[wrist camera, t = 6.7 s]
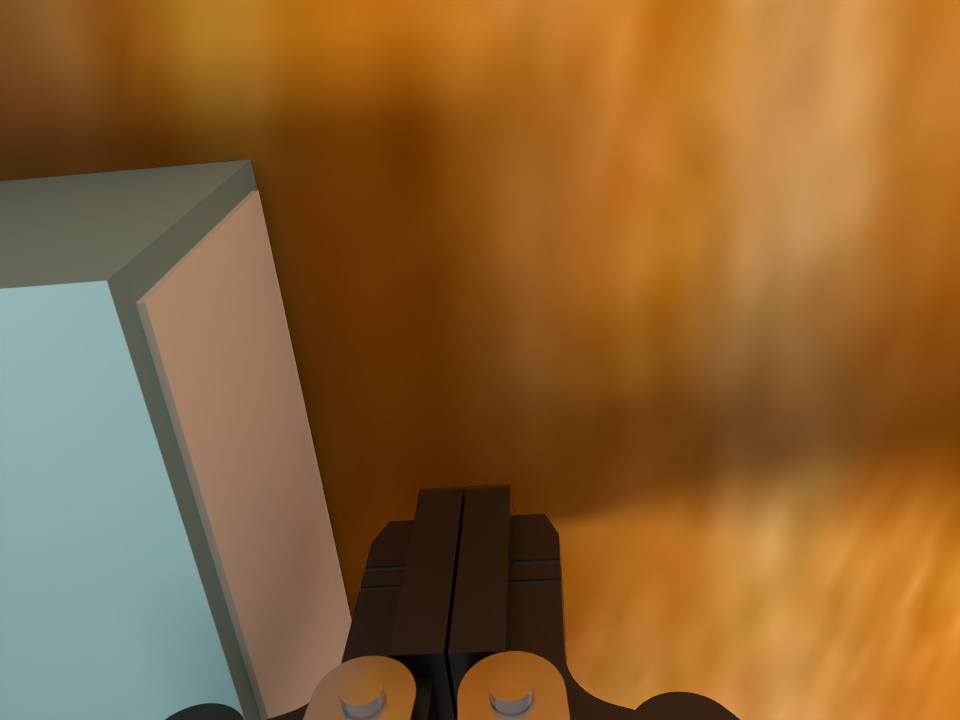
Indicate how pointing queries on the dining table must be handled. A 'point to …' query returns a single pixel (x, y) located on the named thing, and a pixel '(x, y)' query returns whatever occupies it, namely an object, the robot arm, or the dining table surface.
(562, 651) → the robot arm
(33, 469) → the fallen book
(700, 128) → the dining table surface
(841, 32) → the dining table surface
